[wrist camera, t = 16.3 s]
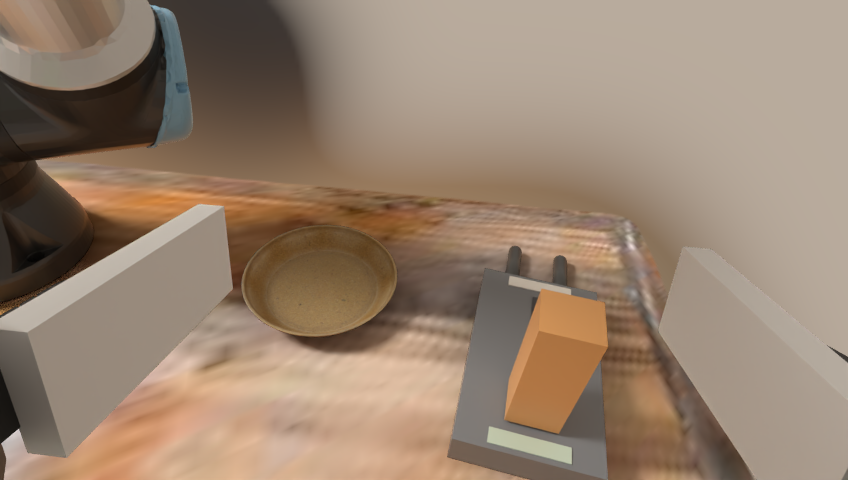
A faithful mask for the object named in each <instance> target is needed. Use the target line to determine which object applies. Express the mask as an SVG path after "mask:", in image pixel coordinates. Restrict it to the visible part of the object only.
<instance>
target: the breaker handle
mask: <svg viewBox="0 0 848 480" xmlns="http://www.w3.org/2000/svg"><path fill="white" fill-rule="evenodd" d="M607 348H608V339H607V326H606V313H605V302H600V301H596V300H591V299H587V298H582V297H578V296H573V295H568V294H564V293H559V292H555V291H550V290H546V289H541V291H540V294H539V297H538V300H537V302H536V305H535V308H534V311H533V313H532V316H531V319H530V322H529V325H528V327H527V330H526V333H525V336H524V338H523V341H522V344H521V347H520V350H519V352H518V355H517V358H516V361H515V363H514V366H513V369H512V372H511V375H510V377H509V382H508V391H507V400H506V409H505V418H504V420H506V421H510V422H514V423H518V424H522V425H526V426H530V427H533V428H537V429H541V430H545V431H549V432H553V433H557V434H559V432H560V431H561V429H562V427H563V425H564V424H565V422H566V420H567V418H568V417H569V415H570V413H571V411H572V410H573V408H574V406H575V404H576V402H577V401H578V399H579V397H580V395H581V394H582V392H583V390H584V388H585V387H586V385H587V383H588V381H589V380H590V378H591V376H592V374H593V373H594V371H595V369H596V367H597V366H598V364H599V362H600V360H601V359H602V357H603V355H604V353H605V351H606V350H607Z"/></svg>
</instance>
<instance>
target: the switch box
mask: <svg viewBox="0 0 848 480" xmlns="http://www.w3.org/2000/svg"><path fill="white" fill-rule="evenodd" d="M521 253H522V251H521V249H520V248H519V247H518V246H512V247H511V248H510V249H509V254H508V261H507V268H506V273H504V272H500V271H495V270H491V269H486V268H485V271H484V275H483V279H482V284H481V288H480V293H479V298H478V303H477V308H476V313H475V318H474V323H473V328H472V334H471V339H470V344H469V349H468V354H467V359H466V364H465V369H464V374H463V379H462V384H461V389H460V395H459V400H458V405H457V410H456V415H455V420H454V425H453V430H452V435H451V440H450V445H449V450H448V455H447V457H449V458H453V459H456V460H460V461H464V462H468V463H471V464H475V465H479V466H482V467H486V468H490V469H493V470H497V471H501V472H504V473H508V474H512V475H515V476H519V477H523V478H527V479H530V480H608V472H607V455H606V439H605V422H604V406H603V389H602V372H601V360H600V362H599V364H598V366H597V367H596V369H595V371H594V373H593V374H592V376H591V378H590V380H589V381H588V383H587V385H586V387H585V388H584V390H583V392H582V394H581V395H580V397H579V399H578V401H577V402H576V404H575V406H574V408H573V410H572V411H571V413H570V415H569V417H568V418H567V420H566V422H565V424H564V425H563V427H562V429H561V431H560V432H559V434H557V433H553V432H549V431H545V430H541V429H537V428H533V427H530V426H526V425H522V424H518V423H514V422H510V421H506V420H504V418H505V409H506V400H507V391H508V382H509V377H510V375H511V372H512V369H513V366H514V363H515V361H516V358H517V355H518V352H519V350H520V347H521V344H522V341H523V338H524V336H525V333H526V330H527V327H528V325H529V322H530V319H531V316H532V313H533V311H534V308H535V305H536V302H537V300H538V297H539V294H540V291H541V289H546V290H550V291H555V292H559V293H564V294H568V295H573V296H578V297H582V298H587V299H591V300H596V301H597V293H596V292H591V291H587V290H582V289H578V288H573V287H568V286H567V260H566V258H565V257H564V256H561V255H559V256H556V257H555V258H554V264H553V283H550V282H546V281H541V280H536V279H532V278H527V277H523V276H519V271H520V262H521Z"/></svg>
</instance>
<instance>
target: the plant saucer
mask: <svg viewBox="0 0 848 480" xmlns="http://www.w3.org/2000/svg"><path fill="white" fill-rule="evenodd" d="M241 283H242V294H243V298H244V300H245V302H246V304H247V306H248V308H249V309H250V311H251V312H252V313H253V314H254V315H255V316H256V317H257V318H258V319H259V320H261V321H262V322H263V323H265V324H266V325H268V326H270V327H272V328H274V329H277V330H279V331H282V332H285V333H289V334H292V335H297V336H305V337H324V336H331V335H336V334H340V333H344V332H347V331H350V330H352V329H354V328H357V327H359V326H361V325H362V324H364V323H366V322H367V321H369V320H371V319H372V318H373V317H375V316H376V315H377V314H378V313H379V312H380V311H381V310H382V309H383V308H384V307H385V306H386V305H387V303H388V302H389V301H390V299H391V297H392V295H393V294H394V291H395V288H396V284H397V269H396V265H395V262H394V259H393V258H392V256H391V254H390V253H389V251H388V250H387V249H386V248H385V247H384V246H383V245H382V244H381V243H380V242H379V241H378V240H376V239H375V238H373V237H372V236H370V235H368V234H366V233H364V232H361V231H359V230H356V229H352V228H349V227H344V226H337V225H316V226H307V227H302V228H298V229H295V230H292V231H289V232H286V233H283V234H281V235H279V236H277V237H275V238H274V239H272V240H270V241H269V242H267V243H266V244H265V245H263V246H262V247H261V248H260V249H259V250H258V251H257V252H256V253H255V254H254V255H253V256H252V258H251V259H250V261H249V262H248V264H247V266H246V268H245V270H244V273H243V277H242V282H241Z"/></svg>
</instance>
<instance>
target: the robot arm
mask: <svg viewBox="0 0 848 480" xmlns="http://www.w3.org/2000/svg"><path fill="white" fill-rule="evenodd" d="M187 84H188V80H187V71H186V65H185V59H184V54H183V48H182V43H181V38H180V33H179V29H178V25H177V21H176V18H175V16H174V14H173V13H172V12H171V11H169V10H168V9H164V8H159V7H157V6H155V5H153V6H152V5H149V3H148V1H147V0H0V302H3V301H7V300H10V299H13V298H16V297H19V296H22V295H24V294H27V293H29V292H32V291H34V290H36V289H38V288H40V287H42V286H44V285H46V284H48V283H50V282H52V281H53V280H55V279H57V278H58V277H60V276H61V275H63V274H64V273H65V272H67V271H68V270H69V269H70V268H72V267H73V266H74V265H75V264H76V263H77V262H78V261H79V260H80V259H81V258H82V257H83V256H84V254H85V253H86V252H87V250H88V249H89V247H90V245H91V243H92V240H93V235H94V230H93V225H92V223H91V221H90V219H89V217H88V215H87V213H86V211H85V210H84V208H83V207H82V205H81V204H80V203H79V202H78V201H77V200H76V199H75V198H73V197H72V196H71V195H70V194H69V193H68V192H67V191H66V190H64V189H63V188H62V187H61V186H60V185H59V184H58V183H57V182H55V181H54V180H53V179H52V178H51V177H50V176H49V175H47V174H46V173H45V172H44V171H43V170H42V169H41V168H40V167H39V166H38V164H37V163H36V161H35V160H41V159H49V158H57V157H65V156H73V155H81V154H89V153H97V152H105V151H113V150H121V149H131V148H140V147H147V148H155V147H157V146H158V145H160V144H166V143H172V142H178V141H182V140H184V139H185V138H187V137H188V136H189V135H190V133H191V131H192V127H193V118H192V107H191V99H190V93H189V87H188V85H187ZM232 289H233V285H232V276H231V267H230V258H229V248H228V239H227V230H226V221H225V212H224V206H215V205H204V204H198V205H196V206H194V207H193V208H191V209H189V210H188V211H186V212H184V213H182V214H181V215H179V216H177V217H175V218H174V219H172V220H170V221H168V222H167V223H165V224H163V225H161V226H160V227H158V228H156V229H154V230H153V231H151V232H149V233H147V234H146V235H144V236H142V237H141V238H139V239H137V240H135V241H134V242H132V243H130V244H128V245H127V246H125V247H123V248H121V249H120V250H118V251H116V252H114V253H113V254H111V255H109V256H107V257H106V258H104V259H102V260H100V261H99V262H97V263H95V264H94V265H92V266H90V267H88V268H87V269H85V270H83V271H81V272H80V273H78V274H76V275H74V276H73V277H71V278H69V279H66V280H64V281H61V282H58V283H56V284H54V285H53V286H51V287H49V288H47V289H46V290H44V291H42V292H40V293H39V294H37V297H32V298H30V299H28V300H26V301H24V302H23V303H21V304H20V306H19V307H14V308H12V309H10V310H9V311H7V312H5V313H3V314H2V315H0V480H4V473H5V465H6V456H5V453H4V450H3V447H2V445H1V443H2V442H3V441H4V440H6V439H7V438H8V437H9V436H10V435H12V434H13V433H14V432H15V431H16V430H18V429H19V430H20V432H21V435H22V438H23V441H24V444H25V447H26V449H27V452H28V453H32V454H40V455H48V456H56V457H64V458H67V457H68V456H69V455H70V454H71V453H72V452H73V451H74V450H75V449H76V448H77V447H78V446H79V445H80V444H81V443H82V442H83V441H84V440H85V439H86V438H87V437H88V436H89V435H90V434H91V432H92V431H93V430H94V429H95V428H96V427H97V426H98V425H99V424H100V423H101V422H102V421H103V420H104V419H105V418H106V417H107V416H108V415H109V414H110V413H111V412H112V411H113V410H114V409H115V408H116V407H117V406H118V405H119V404H120V403H121V402H122V401H123V400H124V399H125V398H126V397H127V396H128V395H129V394H130V393H131V392H132V391H133V390H134V389H135V388H136V387H137V386H138V385H139V384H140V383H141V382H142V381H143V380H144V379H145V378H146V377H147V376H148V375H149V374H150V373H151V372H152V371H153V370H154V369H155V368H156V367H157V366H158V365H159V363H160V362H161V361H162V360H163V359H164V358H165V357H166V356H167V355H168V354H169V353H170V352H171V351H172V350H173V349H174V348H175V347H176V346H177V345H178V344H179V343H180V342H181V341H182V340H183V339H184V338H185V337H186V336H187V335H188V334H189V333H190V332H191V331H192V330H193V329H194V328H195V327H196V326H197V325H198V324H199V323H200V322H201V321H202V320H203V319H204V318H205V317H206V316H207V315H208V314H209V313H210V312H211V311H212V310H213V309H214V308H215V307H216V306H217V305H218V304H219V303H220V302H221V301H222V300H223V299H224V298H225V297H226V296H227V294H228V293H229V292H230V291H231V290H232ZM658 332H659V333H660V335H661V336H662V338H663V340H664V341H665V343H666V344H667V346H668V347H669V349H670V350H671V352H672V353H673V355H674V356H675V358H676V359H677V361H678V362H679V364H680V365H681V367H682V368H683V370H684V371H685V373H686V374H687V376H688V377H689V379H690V380H691V382H692V383H693V385H694V386H695V388H696V389H697V391H698V392H699V394H700V395H701V397H702V398H703V400H704V401H705V403H706V404H707V406H708V407H709V409H710V410H711V412H712V413H713V415H714V416H715V418H716V419H717V421H718V423H719V424H720V426H721V427H722V429H723V430H724V432H725V433H726V435H727V436H728V438H729V439H730V441H731V442H732V444H733V445H734V447H735V448H736V450H737V451H738V453H739V454H740V456H741V457H742V459H743V460H744V462H745V463H746V465H747V466H748V468H749V469H750V471H751V472H752V474H753V475H754V477H755V478H756V480H848V357H847V356H845V355H843V354H842V353H840V352H838V351H836V350H834V349H833V348H831V347H829V346H827V345H826V344H824V343H823V342H822V341H821V340H820V339H818V338H817V337H816V336H815V335H814V334H813V333H811V332H810V331H809V330H808V329H807V328H805V327H804V326H803V325H802V324H801V323H799V322H798V321H797V320H796V319H794V318H793V317H792V316H791V315H790V314H789V313H787V312H786V311H785V310H783V309H782V308H781V307H780V306H779V305H778V304H777V303H775V302H774V301H773V300H772V299H771V298H769V297H768V296H767V295H766V294H765V293H763V292H762V291H761V290H760V289H759V288H757V287H756V286H755V285H754V284H753V283H751V282H750V281H749V280H748V279H747V278H745V277H744V276H743V275H742V274H741V273H739V272H738V271H737V270H736V269H735V268H733V267H732V266H731V265H730V264H729V263H727V262H726V261H725V260H724V259H723V258H721V257H720V256H719V255H718V254H717V253H715V252H714V251H713V250H712V249H703V248H693V247H683V248H682V251H681V255H680V258H679V261H678V265H677V268H676V272H675V275H674V278H673V282H672V285H671V289H670V292H669V295H668V299H667V302H666V305H665V309H664V312H663V315H662V319H661V322H660V326H659V329H658Z"/></svg>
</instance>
